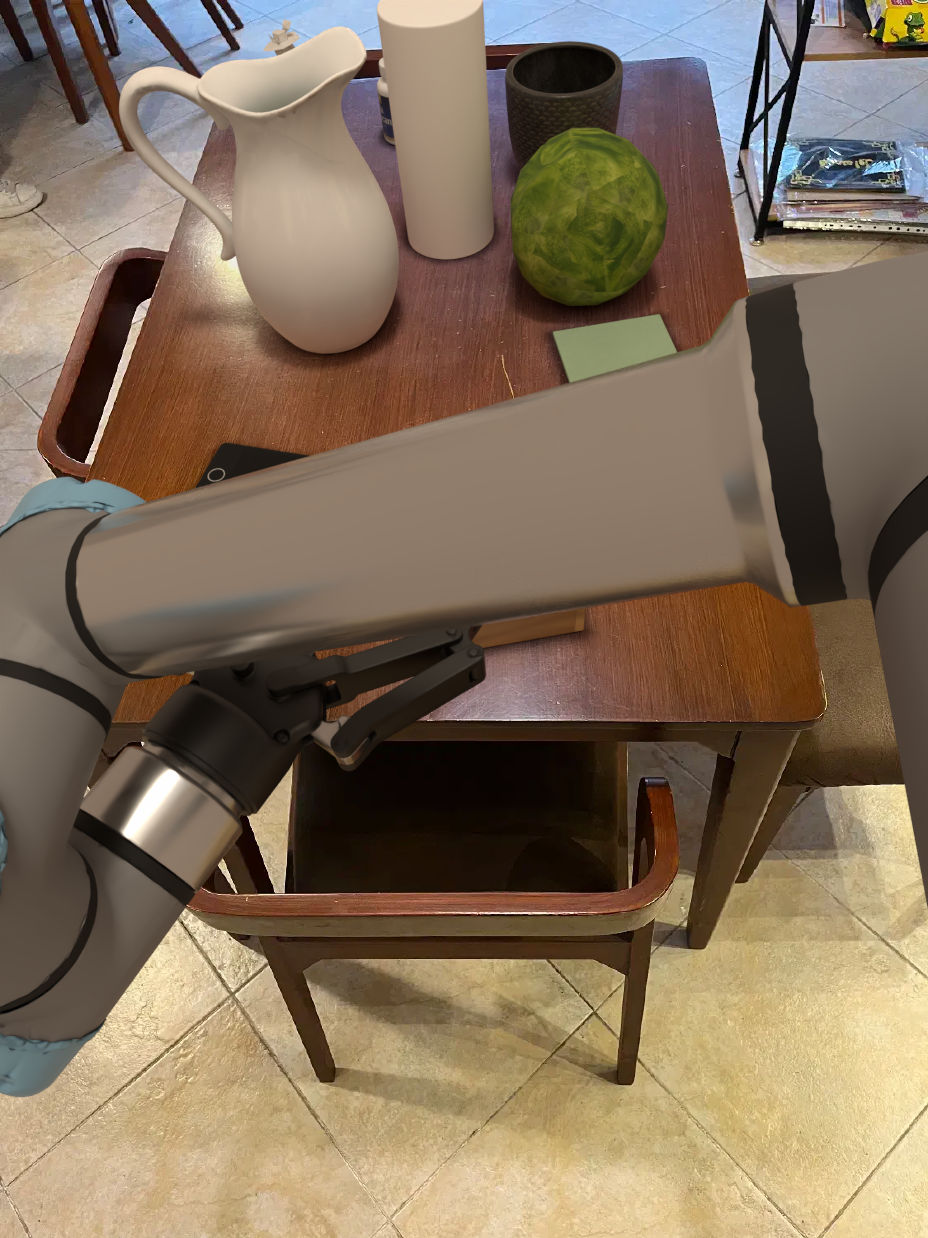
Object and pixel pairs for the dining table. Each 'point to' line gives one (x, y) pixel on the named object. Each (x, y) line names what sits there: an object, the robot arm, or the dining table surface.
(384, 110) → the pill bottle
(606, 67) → the planter
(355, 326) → the pitcher
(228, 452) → the cell phone
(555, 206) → the lettuce
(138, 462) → the dining table surface
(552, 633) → the wooden frame
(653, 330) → the mat
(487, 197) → the tall pillar cylinder
